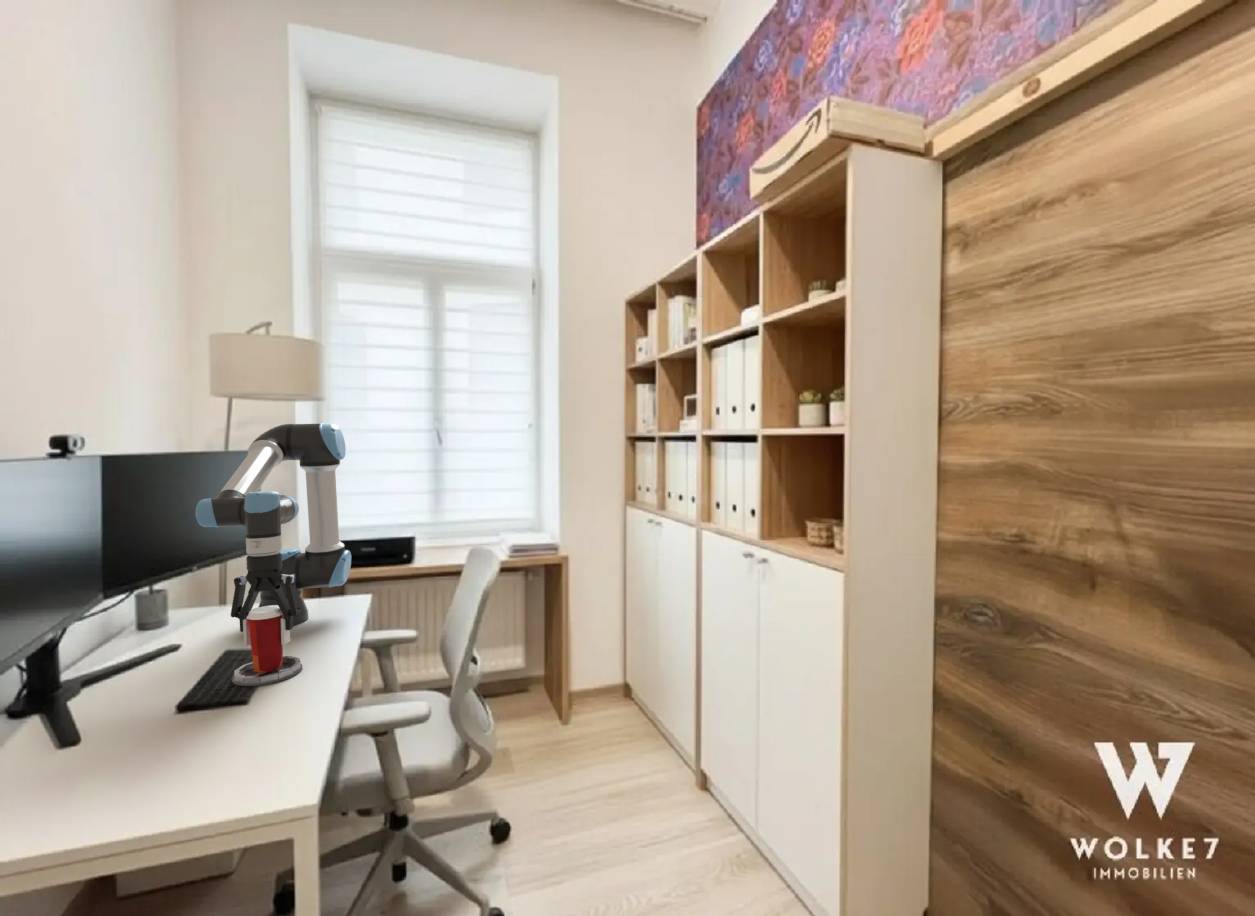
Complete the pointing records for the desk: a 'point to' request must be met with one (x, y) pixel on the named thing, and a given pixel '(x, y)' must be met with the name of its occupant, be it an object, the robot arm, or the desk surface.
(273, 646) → the coffee cup
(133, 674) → the desk surface
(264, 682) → the ring seat
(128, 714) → the desk surface
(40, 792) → the desk surface
